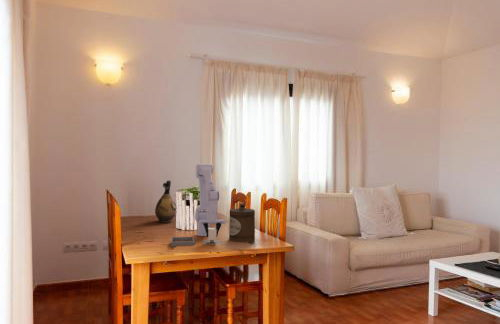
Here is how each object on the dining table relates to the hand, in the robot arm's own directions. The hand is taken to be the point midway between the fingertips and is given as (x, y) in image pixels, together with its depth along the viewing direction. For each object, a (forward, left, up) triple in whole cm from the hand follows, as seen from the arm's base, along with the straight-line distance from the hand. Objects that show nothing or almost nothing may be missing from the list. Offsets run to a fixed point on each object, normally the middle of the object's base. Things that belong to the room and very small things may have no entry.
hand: (211, 236), depth 220 cm
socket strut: (0, 0, -1) cm, 1 cm away
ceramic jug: (-78, -26, -5) cm, 82 cm away
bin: (-1, -16, -4) cm, 17 cm away
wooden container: (-6, +18, -5) cm, 19 cm away
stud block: (0, 0, -4) cm, 4 cm away
